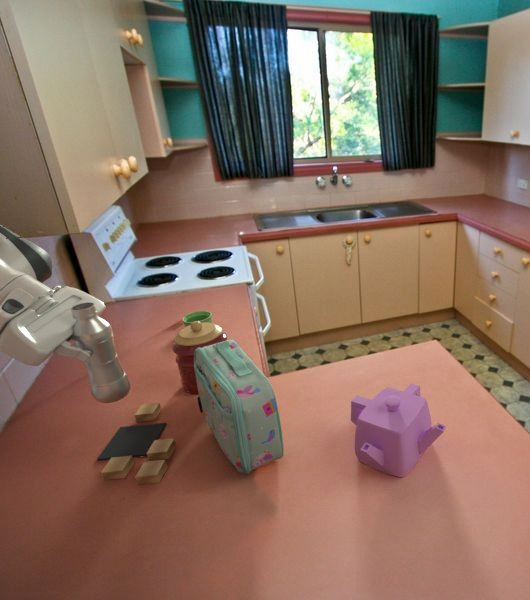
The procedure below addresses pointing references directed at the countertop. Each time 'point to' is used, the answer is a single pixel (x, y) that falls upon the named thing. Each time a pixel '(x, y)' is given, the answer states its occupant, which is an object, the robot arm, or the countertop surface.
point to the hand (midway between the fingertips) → (100, 347)
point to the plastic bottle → (99, 354)
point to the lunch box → (238, 405)
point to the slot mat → (132, 441)
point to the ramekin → (197, 317)
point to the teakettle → (393, 429)
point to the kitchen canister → (187, 345)
